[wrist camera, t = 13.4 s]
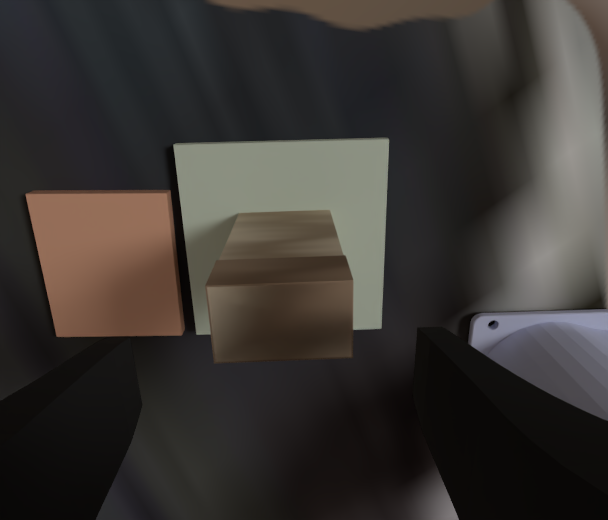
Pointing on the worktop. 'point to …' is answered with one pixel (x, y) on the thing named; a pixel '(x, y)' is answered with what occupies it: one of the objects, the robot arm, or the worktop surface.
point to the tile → (109, 261)
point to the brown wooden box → (281, 290)
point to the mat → (287, 204)
